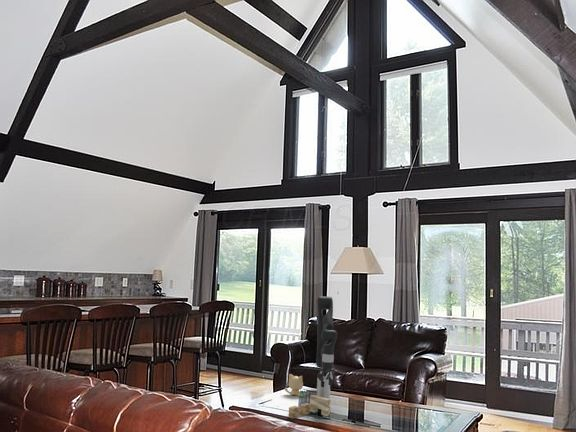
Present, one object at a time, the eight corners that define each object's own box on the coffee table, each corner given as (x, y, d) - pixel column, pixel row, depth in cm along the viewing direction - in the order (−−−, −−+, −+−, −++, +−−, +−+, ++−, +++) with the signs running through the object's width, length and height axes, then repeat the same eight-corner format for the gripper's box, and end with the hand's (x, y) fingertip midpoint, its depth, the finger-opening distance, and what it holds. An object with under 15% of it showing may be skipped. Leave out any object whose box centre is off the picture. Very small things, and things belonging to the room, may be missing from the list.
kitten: (307, 395, 383) (308, 374, 385) (302, 398, 374) (303, 377, 376) (289, 392, 389) (290, 372, 391) (283, 394, 380) (285, 374, 382)
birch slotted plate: (312, 410, 343) (313, 394, 344) (329, 415, 334) (330, 399, 335) (309, 411, 340) (310, 395, 341) (326, 416, 331) (327, 400, 333)
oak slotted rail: (305, 412, 337) (306, 402, 338) (310, 413, 335) (310, 404, 335) (288, 417, 323) (289, 407, 324) (292, 418, 321) (293, 408, 322)
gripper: (329, 359, 346) (327, 383, 344) (316, 360, 335) (315, 386, 333) (338, 360, 341) (337, 385, 339) (326, 362, 330) (324, 388, 328)
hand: (326, 386), depth 336 cm, fingers open, 8 cm apart
